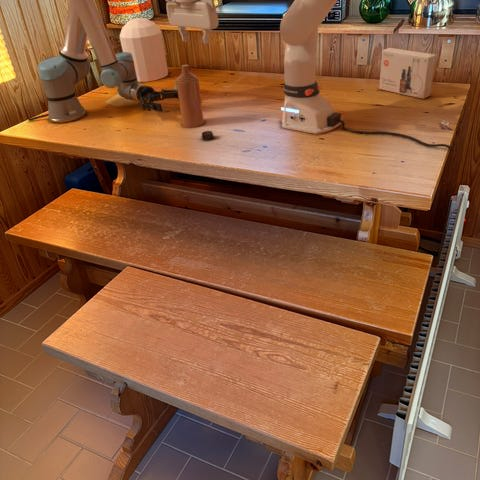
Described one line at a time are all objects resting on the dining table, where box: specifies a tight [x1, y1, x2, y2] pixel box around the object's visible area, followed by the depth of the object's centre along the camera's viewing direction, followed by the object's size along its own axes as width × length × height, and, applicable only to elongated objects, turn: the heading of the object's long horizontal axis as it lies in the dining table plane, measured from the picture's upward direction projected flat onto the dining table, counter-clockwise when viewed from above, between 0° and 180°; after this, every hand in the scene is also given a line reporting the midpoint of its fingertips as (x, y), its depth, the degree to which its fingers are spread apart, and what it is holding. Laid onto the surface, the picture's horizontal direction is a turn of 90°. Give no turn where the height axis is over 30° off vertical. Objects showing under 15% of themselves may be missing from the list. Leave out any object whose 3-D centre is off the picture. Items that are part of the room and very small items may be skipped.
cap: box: [201, 130, 214, 141], centre depth 166 cm, size 4×4×2 cm
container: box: [119, 17, 169, 83], centre depth 235 cm, size 21×21×28 cm
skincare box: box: [378, 47, 437, 100], centre depth 184 cm, size 21×6×16 cm, turn 40°
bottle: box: [175, 64, 205, 128], centre depth 174 cm, size 8×8×22 cm
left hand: (174, 103), depth 183 cm, fingers open, 13 cm apart
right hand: (195, 42), depth 148 cm, fingers open, 8 cm apart
